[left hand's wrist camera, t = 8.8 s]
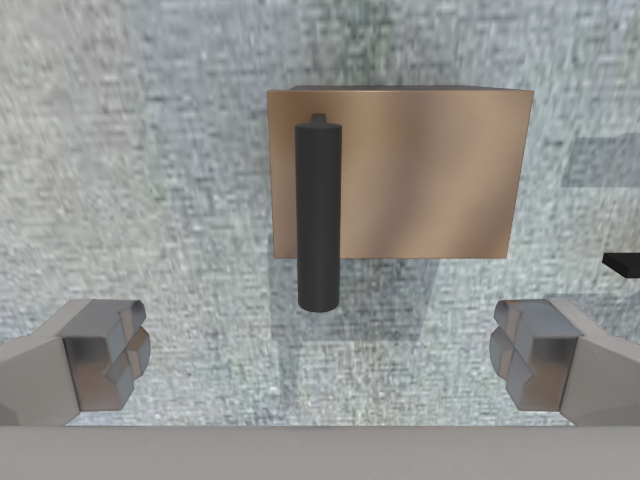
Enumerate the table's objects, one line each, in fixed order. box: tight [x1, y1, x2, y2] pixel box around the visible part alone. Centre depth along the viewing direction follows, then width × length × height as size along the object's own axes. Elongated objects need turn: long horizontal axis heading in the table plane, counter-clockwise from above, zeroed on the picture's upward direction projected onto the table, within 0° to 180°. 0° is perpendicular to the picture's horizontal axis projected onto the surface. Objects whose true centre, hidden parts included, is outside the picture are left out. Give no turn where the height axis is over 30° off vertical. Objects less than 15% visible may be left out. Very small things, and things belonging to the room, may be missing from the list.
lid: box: [267, 90, 534, 312], centre depth 21 cm, size 14×9×9 cm
